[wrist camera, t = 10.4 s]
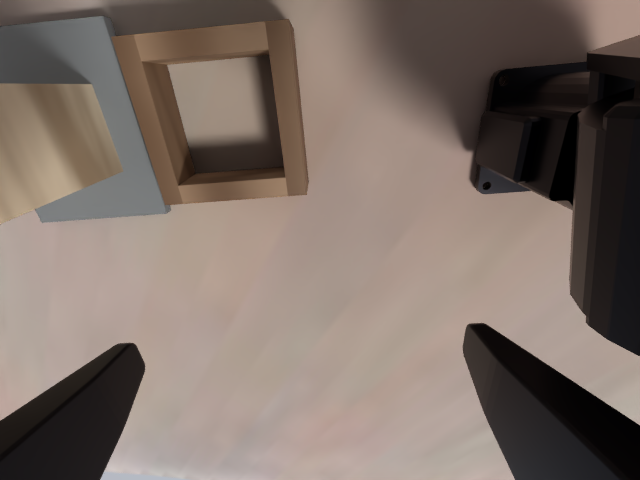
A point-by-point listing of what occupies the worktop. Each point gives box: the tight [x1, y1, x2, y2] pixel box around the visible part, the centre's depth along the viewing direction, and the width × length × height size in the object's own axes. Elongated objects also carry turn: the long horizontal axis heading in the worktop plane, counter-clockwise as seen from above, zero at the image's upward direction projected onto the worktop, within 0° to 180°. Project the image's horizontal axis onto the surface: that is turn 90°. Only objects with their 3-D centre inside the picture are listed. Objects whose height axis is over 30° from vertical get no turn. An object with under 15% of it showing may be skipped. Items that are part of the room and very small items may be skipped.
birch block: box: [0, 83, 123, 224], centre depth 13 cm, size 4×4×8 cm
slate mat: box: [0, 16, 171, 223], centre depth 17 cm, size 8×10×1 cm
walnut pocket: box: [111, 19, 309, 205], centre depth 16 cm, size 8×8×2 cm
